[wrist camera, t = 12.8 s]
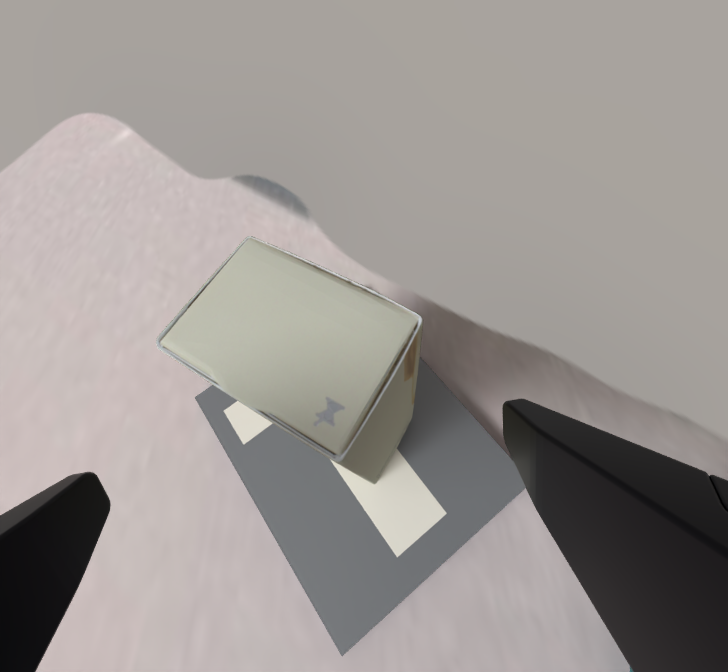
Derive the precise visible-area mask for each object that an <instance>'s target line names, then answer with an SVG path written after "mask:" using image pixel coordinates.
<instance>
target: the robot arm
mask: <svg viewBox="0 0 728 672" xmlns="http://www.w3.org/2000/svg"><path fill="white" fill-rule="evenodd" d="M503 435H504V440H505V443H506V446H507V448H508V450H509V452H510V454H511V456H512V459H513V461H514V463H515V465H516V467H517V469H518V472H519V474H520V476H521V478H522V480H523V482H524V485H525V487H526V489H527V491H528V493H529V495H530V498H531V500H532V502H533V504H534V506H535V508H536V510H537V511H538V513H539V515H540V517H541V518H542V520H543V522H544V523H545V525H546V527H547V528H548V530H549V532H550V533H551V535H552V537H553V538H554V540H555V542H556V543H557V545H558V547H559V548H560V550H561V552H562V553H563V555H564V557H565V558H566V560H567V562H568V563H569V565H570V567H571V568H572V570H573V572H574V573H575V575H576V577H577V578H578V580H579V582H580V583H581V585H582V587H583V588H584V590H585V592H586V593H587V595H588V597H589V598H590V600H591V602H592V604H593V605H594V607H595V609H596V610H597V612H598V614H599V615H600V617H601V619H602V620H603V622H604V624H605V625H606V627H607V629H608V630H609V632H610V634H611V635H612V637H613V639H614V640H615V642H616V644H617V645H618V647H619V649H620V650H621V652H622V654H623V655H624V657H625V659H626V660H627V662H628V664H629V665H630V667H631V669H632V670H633V672H728V481H727V480H725V479H722V478H720V477H717V476H715V475H710V476H709V475H708V474H707V473H706V472H704V471H702V470H699V469H697V468H694V467H692V466H689V465H687V464H684V463H682V462H680V461H677V460H675V459H672V458H670V457H667V456H665V455H662V454H660V453H657V452H655V451H652V450H650V449H647V448H645V447H642V446H640V445H637V444H635V443H632V442H630V441H627V440H625V439H622V438H620V437H617V436H615V435H612V434H610V433H607V432H605V431H602V430H600V429H597V428H595V427H592V426H590V425H587V424H585V423H582V422H580V421H578V420H575V419H573V418H570V417H568V416H565V415H563V414H560V413H558V412H555V411H553V410H550V409H548V408H545V407H543V406H540V405H538V404H535V403H533V402H530V401H528V400H525V399H516V400H511V401H506V402H505V403H504V404H503ZM109 512H110V500H109V497H108V495H107V494H106V492H105V490H104V488H103V486H102V484H101V482H100V480H99V478H98V477H97V475H96V474H94V473H93V472H85V473H79V474H73V475H70V476H68V477H66V478H65V479H63V480H61V481H59V482H58V483H56V484H54V485H52V486H51V487H49V488H47V489H46V490H44V491H42V492H40V493H39V494H37V495H35V496H33V497H32V498H30V499H28V500H26V501H25V502H23V503H21V504H19V505H18V506H16V507H14V508H13V509H11V510H9V511H7V512H6V513H4V514H2V515H0V672H36V670H37V668H38V666H39V664H40V662H41V660H42V658H43V656H44V654H45V652H46V650H47V648H48V646H49V644H50V642H51V640H52V638H53V636H54V634H55V632H56V630H57V628H58V626H59V624H60V623H61V621H62V619H63V617H64V615H65V613H66V611H67V609H68V607H69V605H70V603H71V601H72V599H73V597H74V595H75V593H76V591H77V589H78V587H79V584H80V582H81V580H82V578H83V575H84V573H85V571H86V568H87V566H88V563H89V561H90V558H91V556H92V553H93V551H94V549H95V546H96V544H97V541H98V539H99V536H100V534H101V531H102V529H103V527H104V524H105V522H106V519H107V517H108V514H109Z"/></svg>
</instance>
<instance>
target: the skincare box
mask: <svg viewBox="0 0 728 672" xmlns="http://www.w3.org/2000/svg"><path fill="white" fill-rule="evenodd" d="M422 327H423V319H422V317H421V316H420V315H419V314H417V313H415V312H413V311H411V310H409V309H407V308H406V307H404V306H403V305H401V304H398V303H397V302H395V301H393V300H391V299H389V298H387V297H385V296H383V295H381V294H379V293H377V292H375V291H373V290H371V289H369V288H367V287H365V286H363V285H361V284H359V283H356V282H354V281H352V280H350V279H348V278H346V277H343V276H341V275H339V274H337V273H335V272H333V271H331V270H328V269H326V268H324V267H322V266H320V265H317V264H315V263H313V262H311V261H308V260H306V259H304V258H301V257H299V256H297V255H295V254H293V253H290V252H288V251H285V250H283V249H280V248H278V247H276V246H274V245H271V244H269V243H266V242H264V241H262V240H259V239H257V238H255V237H252V236H248V237H246V238H245V239H244V240H243V241H242V243H241V244H240V245H239V246H238V247H237V248H236V250H235V251H234V252H233V253H232V254H231V255H230V256H229V257H228V258H227V259H226V260H225V261H224V263H223V264H222V265H221V266H220V267H219V268H218V269H217V270H216V272H215V273H214V274H213V275H212V276H211V277H210V278H209V279H208V280H207V281H206V283H205V284H204V285H203V286H202V287H201V288H200V289H199V291H198V292H197V293H196V294H195V295H194V296H193V297H192V298H191V299H190V300H189V302H188V303H187V304H186V305H185V306H184V307H183V308H182V310H181V311H180V312H179V313H178V314H177V315H176V317H175V318H174V319H173V320H172V321H171V322H170V323H169V325H168V326H167V327H166V328H165V329H164V330H163V331H162V332H161V334H160V335H159V336H158V337H157V340H156V344H157V348H158V349H159V350H160V351H162V352H163V353H165V354H166V355H168V356H169V357H171V358H172V359H174V360H175V361H177V362H179V363H180V364H182V365H183V366H185V367H186V368H188V369H189V370H191V371H192V372H194V373H195V374H197V375H198V376H200V377H202V378H203V379H205V380H206V381H208V382H209V383H211V384H212V385H214V386H216V387H217V388H219V389H220V390H222V391H223V392H225V393H226V394H228V395H230V396H231V397H233V398H234V399H236V400H237V401H239V402H240V403H242V404H244V405H245V406H247V407H248V408H250V409H251V410H253V411H254V412H256V413H258V414H259V415H261V416H262V417H264V418H265V419H267V420H268V421H270V422H272V423H273V424H275V425H276V426H278V427H280V428H281V429H283V430H284V431H286V432H287V433H289V434H291V435H292V436H294V437H295V438H297V439H298V440H300V441H302V442H303V443H305V444H306V445H308V446H309V447H311V448H313V449H314V450H316V451H318V452H319V453H321V454H322V455H324V456H326V457H327V458H329V459H331V460H332V461H334V462H336V463H337V464H339V465H341V466H342V467H344V468H346V469H348V470H349V471H351V472H353V473H354V474H356V475H358V476H360V477H361V478H363V479H365V480H366V481H368V482H370V483H372V484H376V483H377V481H378V480H379V478H380V476H381V475H382V473H383V471H384V470H385V468H386V466H387V464H388V463H389V461H390V459H391V458H392V456H393V454H394V452H395V450H396V449H397V447H398V445H399V443H400V441H401V439H402V437H403V435H404V433H405V432H406V430H407V428H408V425H409V423H410V421H411V419H412V415H413V408H414V399H415V390H416V383H417V375H418V366H419V356H420V347H421V338H422Z"/></svg>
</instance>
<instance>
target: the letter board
mask: <svg viewBox="0 0 728 672" xmlns="http://www.w3.org/2000/svg"><path fill="white" fill-rule="evenodd" d="M195 399H196V401H197V402H198V404H199V406H200V408H201V409H202V411H203V413H204V415H205V416H206V418H207V420H208V422H209V423H210V425H211V427H212V429H213V430H214V432H215V434H216V436H217V437H218V439H219V441H220V443H221V445H222V446H223V448H224V450H225V452H226V453H227V455H228V457H229V459H230V460H231V462H232V464H233V466H234V467H235V469H236V471H237V473H238V474H239V476H240V478H241V480H242V481H243V483H244V485H245V487H246V488H247V490H248V492H249V494H250V495H251V497H252V499H253V501H254V503H255V504H256V506H257V508H258V510H259V511H260V513H261V515H262V517H263V518H264V520H265V522H266V524H267V525H268V527H269V529H270V531H271V532H272V534H273V536H274V538H275V539H276V541H277V543H278V545H279V546H280V548H281V550H282V552H283V553H284V555H285V557H286V559H287V561H288V562H289V564H290V566H291V568H292V569H293V571H294V573H295V575H296V576H297V578H298V580H299V582H300V583H301V585H302V587H303V589H304V590H305V592H306V594H307V596H308V597H309V599H310V601H311V603H312V604H313V606H314V608H315V610H316V611H317V613H318V615H319V617H320V619H321V620H322V622H323V624H324V626H325V627H326V629H327V631H328V633H329V634H330V636H331V638H332V640H333V641H334V643H335V645H336V647H337V648H338V650H339V652H340V654H341V655H342V656H343V655H344V654H345V653H346V652H347V651H348V650H349V649H351V648H352V647H353V646H354V645H355V644H356V643H357V642H358V641H359V640H360V639H361V638H362V637H364V636H365V635H366V634H367V633H368V632H369V631H370V630H371V629H372V628H373V627H374V626H376V625H377V624H378V623H379V622H380V621H381V620H382V619H383V618H384V617H385V616H386V615H388V614H389V613H390V612H391V611H392V610H393V609H394V608H395V607H396V606H397V605H398V604H399V603H401V602H402V601H403V600H404V599H405V598H406V597H407V596H408V595H409V594H410V593H411V592H413V591H414V590H415V589H416V588H417V587H418V586H419V585H420V584H421V583H422V582H423V581H425V580H426V579H427V578H428V577H429V576H430V575H431V574H432V573H433V572H434V571H435V570H437V569H438V568H439V567H440V566H441V565H442V564H443V563H444V562H445V561H446V560H447V559H448V558H450V557H451V556H452V555H453V554H454V553H455V552H456V551H457V550H458V549H459V548H460V547H462V546H463V545H464V544H465V543H466V542H467V541H468V540H469V539H470V538H471V537H472V536H474V535H475V534H476V533H477V532H478V531H479V530H480V529H481V528H482V527H483V526H484V525H485V524H487V523H488V522H489V521H490V520H491V519H492V518H493V517H494V516H495V515H496V514H497V513H499V512H500V511H501V510H502V509H503V508H504V507H505V506H506V505H507V504H508V503H509V502H511V501H512V500H513V499H514V498H515V497H516V496H517V495H518V494H519V493H520V492H521V491H522V490H524V489H525V488H526V487H525V485H524V482H523V480H522V478H521V476H520V474H519V472H518V469H517V467H516V465H515V463H514V461H513V460H512V459H511V458H510V457H509V456H508V455H507V454H506V452H505V451H504V450H503V449H502V448H501V447H500V446H499V445H498V443H497V442H496V441H495V440H494V439H493V438H492V437H491V436H490V435H489V433H488V432H487V431H486V430H485V429H484V428H483V427H482V426H481V424H480V423H479V422H478V421H477V420H476V419H475V418H474V417H473V416H472V414H471V413H470V412H469V411H468V410H467V409H466V408H465V407H464V405H463V404H462V403H461V402H460V401H459V400H458V399H457V398H456V397H455V395H454V394H453V393H452V392H451V391H450V390H449V389H448V388H447V386H446V385H445V384H444V383H443V382H442V381H441V380H440V379H439V378H438V376H437V375H436V374H435V373H434V372H433V371H432V370H431V369H430V367H429V366H428V365H427V364H426V363H425V362H424V361H423V360H422V359H421V357H420V356H419V366H418V375H417V383H416V390H415V399H414V408H413V415H412V419H411V421H410V423H409V425H408V428H407V430H406V432H405V433H404V435H403V437H402V439H401V441H400V443H399V445H398V447H397V449H396V450H395V452H394V454H393V456H392V458H391V459H390V461H389V463H388V464H387V466H386V468H385V470H384V471H383V473H382V475H381V476H380V478H379V480H378V481H377V483H376V484H372V483H370V482H368V481H366V480H365V479H363V478H361V477H360V476H358V475H356V474H354V473H353V472H351V471H349V470H348V469H346V468H344V467H342V466H341V465H339V464H337V463H336V462H334V461H332V460H331V459H329V458H327V457H326V456H324V455H322V454H321V453H319V452H318V451H316V450H314V449H313V448H311V447H309V446H308V445H306V444H305V443H303V442H302V441H300V440H298V439H297V438H295V437H294V436H292V435H291V434H289V433H287V432H286V431H284V430H283V429H281V428H280V427H278V426H276V425H275V424H273V423H272V422H270V421H268V420H267V419H265V418H264V417H262V416H261V415H259V414H258V413H256V412H254V411H253V410H251V409H250V408H248V407H247V406H245V405H244V404H242V403H240V402H239V401H237V400H236V399H234V398H233V397H231V396H230V395H228V394H226V393H225V392H223V391H222V390H220V389H219V388H217V387H216V386H214V385H212V386H211V387H209V388H208V389H206V390H205V391H203V392H202V393H200V394H199V395H198V396H196V397H195Z"/></svg>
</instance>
